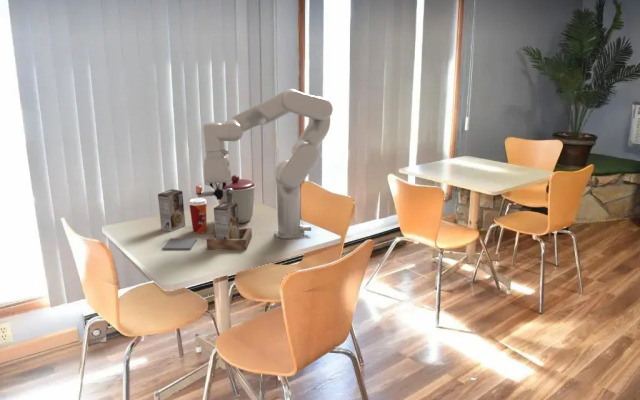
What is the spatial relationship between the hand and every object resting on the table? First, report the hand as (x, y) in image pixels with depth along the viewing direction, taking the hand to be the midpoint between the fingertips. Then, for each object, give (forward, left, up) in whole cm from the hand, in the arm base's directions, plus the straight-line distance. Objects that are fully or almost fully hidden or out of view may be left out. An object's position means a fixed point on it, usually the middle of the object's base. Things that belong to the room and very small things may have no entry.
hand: (219, 198), depth 230 cm
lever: (+2, -2, +1) cm, 3 cm away
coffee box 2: (-3, +5, -18) cm, 19 cm away
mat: (+16, +7, -18) cm, 24 cm away
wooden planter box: (-4, +3, -17) cm, 18 cm away
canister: (-2, -26, -18) cm, 31 cm away
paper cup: (+12, -10, -18) cm, 24 cm away
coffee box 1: (+25, -15, -18) cm, 34 cm away
